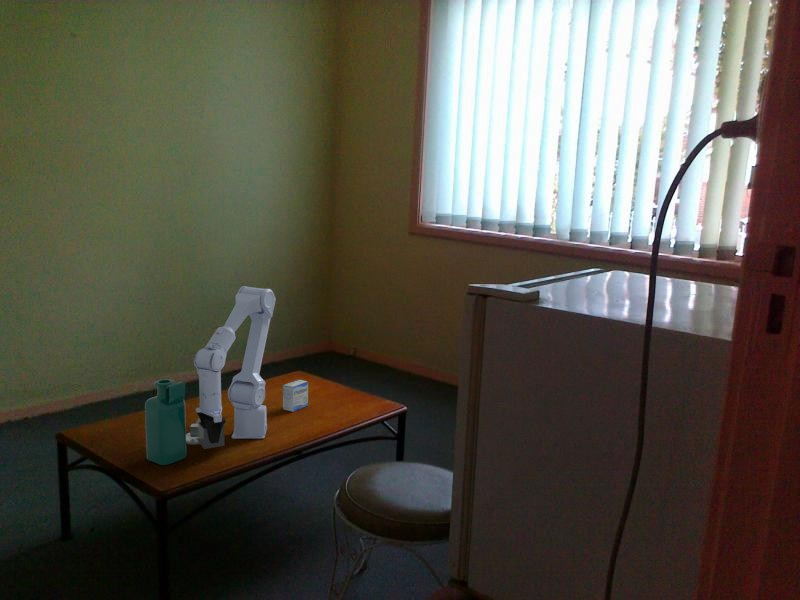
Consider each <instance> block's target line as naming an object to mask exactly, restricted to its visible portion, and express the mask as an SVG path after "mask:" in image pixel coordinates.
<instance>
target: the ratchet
mask: <svg viewBox="0 0 800 600" xmlns="http://www.w3.org/2000/svg"><path fill="white" fill-rule="evenodd" d="M198 422H201V421H200V418H199V417H198V419H197V420H196V422H195V423H191V425H190V426H189V432H188V433H187V432H186V445H189V446H191V445H192V446H196V445H201V444H200V443H199V431H198Z"/></svg>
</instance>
